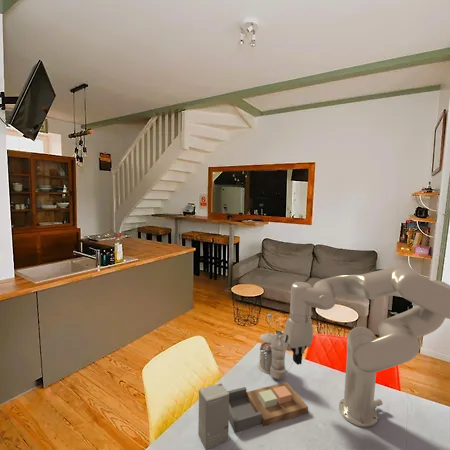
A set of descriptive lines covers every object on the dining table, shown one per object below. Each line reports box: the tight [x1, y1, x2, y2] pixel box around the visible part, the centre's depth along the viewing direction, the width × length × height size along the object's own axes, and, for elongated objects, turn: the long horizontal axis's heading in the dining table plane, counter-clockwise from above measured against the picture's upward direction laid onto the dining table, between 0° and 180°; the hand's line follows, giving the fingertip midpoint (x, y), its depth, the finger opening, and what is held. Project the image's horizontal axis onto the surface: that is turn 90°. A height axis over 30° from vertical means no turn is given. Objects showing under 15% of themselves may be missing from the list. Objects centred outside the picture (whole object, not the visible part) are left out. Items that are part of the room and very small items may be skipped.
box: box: [227, 386, 262, 433], centre depth 101 cm, size 10×14×4 cm
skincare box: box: [197, 382, 230, 450], centre depth 90 cm, size 8×7×16 cm
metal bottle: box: [270, 330, 287, 381], centre depth 120 cm, size 6×7×20 cm
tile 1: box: [259, 389, 277, 408], centre depth 103 cm, size 5×5×2 cm
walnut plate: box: [246, 381, 309, 427], centre depth 105 cm, size 18×14×2 cm
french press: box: [257, 313, 275, 375], centre depth 125 cm, size 10×12×25 cm
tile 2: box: [273, 386, 292, 404], centre depth 105 cm, size 5×5×2 cm
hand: (297, 362), depth 106 cm, fingers closed
